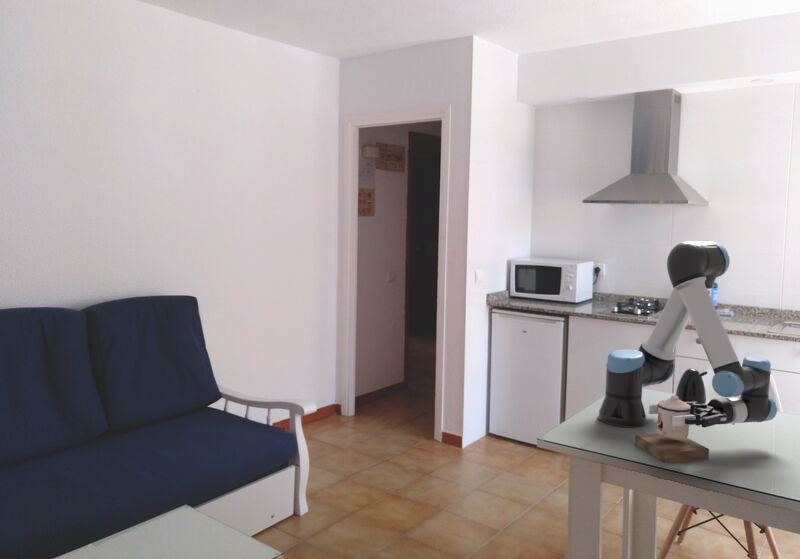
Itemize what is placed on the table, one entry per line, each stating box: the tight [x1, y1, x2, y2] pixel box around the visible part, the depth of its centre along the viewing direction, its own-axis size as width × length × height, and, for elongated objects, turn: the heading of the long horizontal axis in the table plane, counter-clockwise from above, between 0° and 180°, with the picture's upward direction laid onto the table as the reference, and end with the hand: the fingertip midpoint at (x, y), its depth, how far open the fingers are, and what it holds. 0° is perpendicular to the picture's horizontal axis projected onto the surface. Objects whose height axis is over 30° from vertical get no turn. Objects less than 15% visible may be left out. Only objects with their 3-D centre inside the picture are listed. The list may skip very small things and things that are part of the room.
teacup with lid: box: [656, 394, 691, 439], centre depth 193 cm, size 12×9×12 cm
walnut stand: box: [634, 432, 710, 464], centre depth 194 cm, size 15×14×3 cm
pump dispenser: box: [674, 368, 708, 413], centre depth 235 cm, size 10×10×15 cm
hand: (661, 415), depth 192 cm, fingers closed on teacup with lid, 11 cm apart
